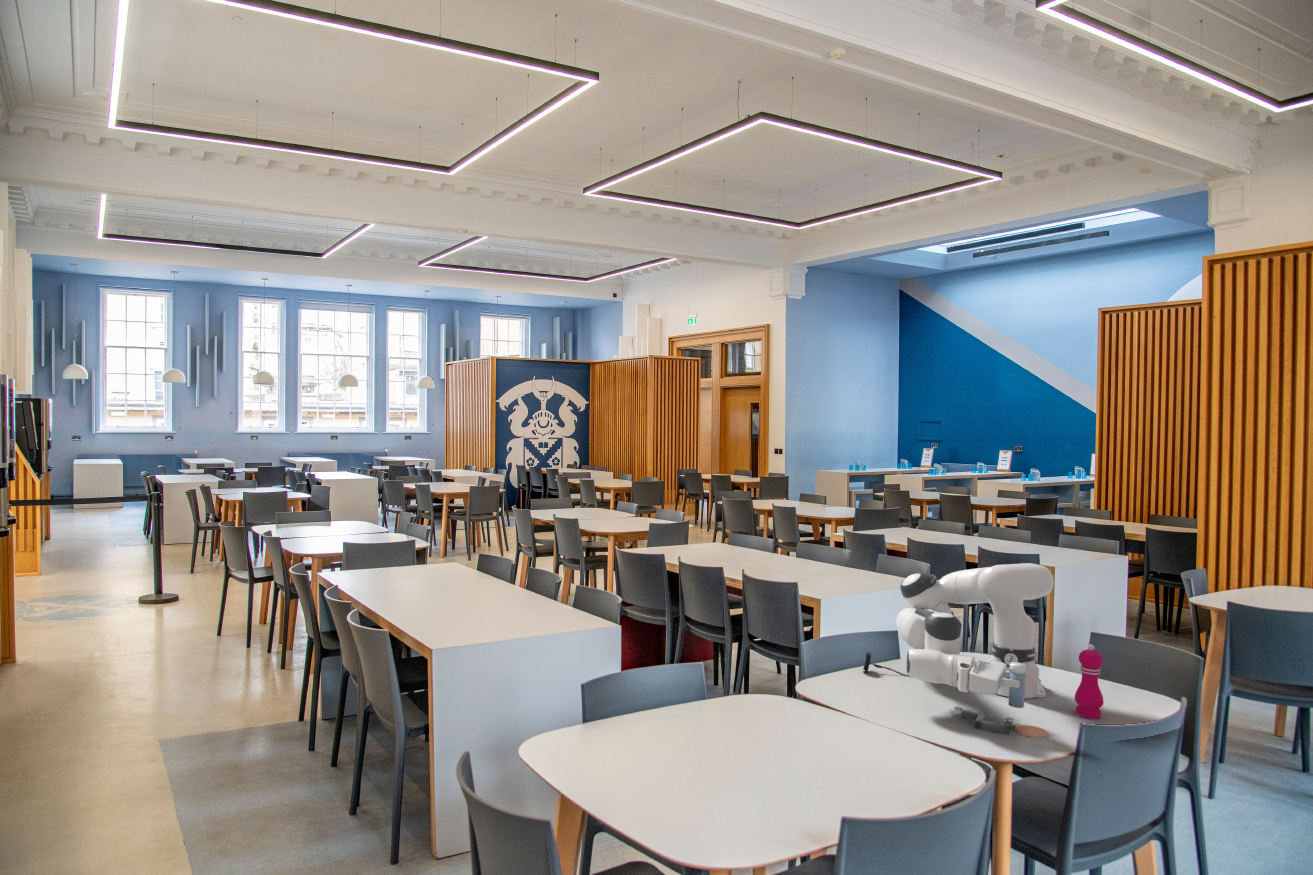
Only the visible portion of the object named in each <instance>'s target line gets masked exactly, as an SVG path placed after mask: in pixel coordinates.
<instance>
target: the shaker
mask: <svg viewBox="0 0 1313 875" xmlns="http://www.w3.org/2000/svg"><path fill="white" fill-rule="evenodd" d="M1025 674H1026V665H1025V664H1023V663H1018V662H1011V663H1010V679H1016V680H1020V687H1019V688H1016V687H1009V697H1008V706H1009V707H1012V708H1016V709H1023V708H1024V707H1025V698H1024V696H1025Z"/></svg>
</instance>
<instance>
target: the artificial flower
mask: <svg viewBox="0 0 1313 875" xmlns="http://www.w3.org/2000/svg"><path fill="white" fill-rule="evenodd" d="M871 658H872V653H870V652H868V651H867V652H866V655H865V662H864V665H863V670H865V671H863V672H864V673H868V671H869V668H870V665H872V666H873V667H875V668H878V669H885V670H888V671H892V672H894V673H897V674H899V675H901V676H903V675H904V677H907V676H908V677H910V676H909V675H908V674H905V673H903V672H899V671H897V670H895V669H892V668H891V667H887V666H883V665H879V664H876V663H871ZM863 672H862V673H863Z"/></svg>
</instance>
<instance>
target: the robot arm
mask: <svg viewBox="0 0 1313 875" xmlns="http://www.w3.org/2000/svg"><path fill="white" fill-rule="evenodd" d="M1054 585H1055V580H1054V577H1053V573H1052V572H1051V570H1050V569H1049V568H1047V566H1044V565H1041V564H1036V563H1030V562H1027V563H1026V562H1023V563H1009V564H1005V563H1004V564H995V565H992V566H988V567H987V566H986V567H977V568H970V569H963V570H962V569H961V570H957V571H953V572H950V573H948V574H946V575H944V576H942V577H941V578H940V579H937V576H936V575H934V574H928V573H925V572H916V573H912V574H910V575H908V576H907V577H906V578H904V579H903V580H902V582H901V584H900V587H899V588H900V591H901V595H902V597H903V598H905V601H906V603H907V604H908V606H909V607H906V608H903V609H901V611H899V613H898V614H897V616H896V621H895V623H896V628H897V631H898V633H899V634H900V636H901V638H902V639H903V641H904V642H905V643H906V644H907V645H908V646H909V647H910V648H909V649H908V651H907V654H906V673H907V675H909V676H908V677H911V678H914V679H916V680H920V681H923V682H927V683H933V684H937V685H938V684H945V685H948V686H951V687H954V688H957V689H958V690H959V692H962V693H968V692H972V693H978V694H987V695H999V696H1004V697H1008V698H1009V687H1016V688H1019V687H1020V680H1016V679H1010V663H1011V662H1018V663H1023V664H1025V665H1026V674H1025V696H1024V699H1033V698H1034V697H1035V698H1046V697H1047V694H1046V691H1045V688H1044V686H1043V684H1042V682H1041V678H1040V668H1039V666H1038V665H1037V664H1036V662H1035V659H1036V648H1035V646H1034V643H1035V642H1034V641H1035V622H1034V620H1033V618H1031V616H1029V615H1028V614H1027V613H1026V611H1025V608H1024V601H1029V600H1037V599H1040V598H1043V597H1045V596H1047V595H1049V594H1050V593H1051V592H1052V591H1053V588H1054ZM952 603H953V604H957V605H974V604H975V605H976V604H987V603H988V604H990V607H991V609H992V613H993V619H994V630H993V631H994V635H993V636H994V638H993V639H994V641H993V642H992V645H991V656H990V658H988V659H985V660H984V659H979V660H977V661H975V660H976V659H975V657H974V656H971V655H964V654H961V653H960V652H961V635H962V627H963V626H962V625H963V624H962V622H961V621H960V620H959V619H958V617H957V616H956V615H955V614H954V611H953V610H951V608H950V605H949V604H952Z"/></svg>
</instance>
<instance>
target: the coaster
mask: <svg viewBox="0 0 1313 875" xmlns="http://www.w3.org/2000/svg"><path fill="white" fill-rule="evenodd" d="M1014 730H1015V732H1017V733H1018V734H1020V735H1022V736H1026V737H1029V738H1036V739H1044V738H1047V737H1049V734H1050V733H1049V732H1048V731H1047V730H1046V729H1045V728H1041V727H1039V726H1035V725H1029V724H1028V725H1027V724H1021V725H1016V726H1014Z"/></svg>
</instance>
